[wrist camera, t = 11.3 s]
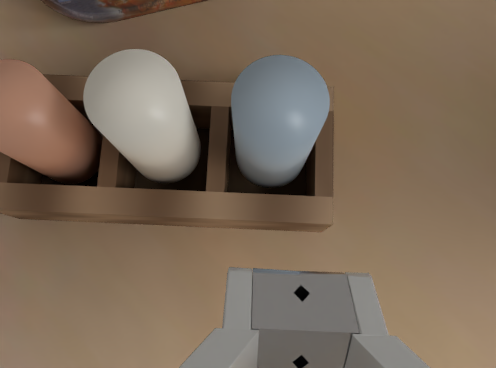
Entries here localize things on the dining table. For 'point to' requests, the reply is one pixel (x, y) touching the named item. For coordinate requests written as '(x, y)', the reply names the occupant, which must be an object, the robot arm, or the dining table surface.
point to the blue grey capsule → (277, 118)
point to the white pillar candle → (144, 114)
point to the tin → (112, 8)
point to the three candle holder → (174, 201)
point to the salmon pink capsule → (45, 126)
